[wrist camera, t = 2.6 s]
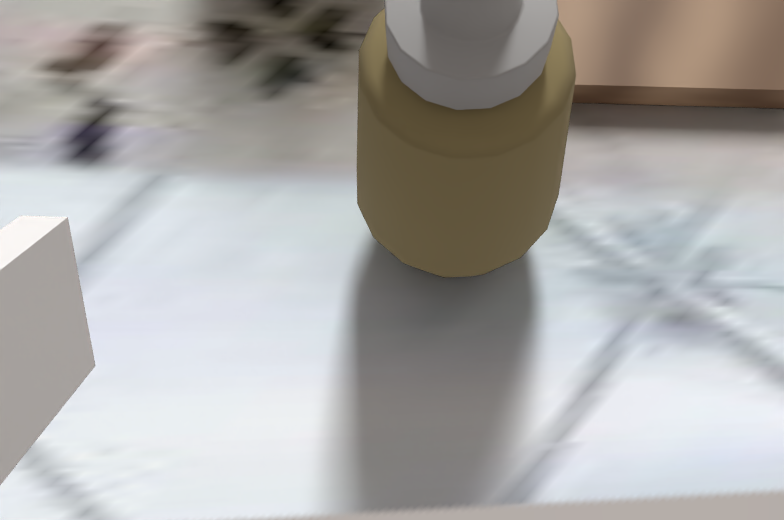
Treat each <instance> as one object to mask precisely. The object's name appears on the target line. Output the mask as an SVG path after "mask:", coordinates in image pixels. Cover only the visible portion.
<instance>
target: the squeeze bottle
mask: <svg viewBox="0 0 784 520" xmlns="http://www.w3.org/2000/svg"><path fill="white" fill-rule="evenodd" d="M384 2H385V8H384V9H383V10H382V11H381V12H379V13H378V14H377V15H376V16H375V17H374V19H373V21H372V23H371V25H370V27H369V30H368V32H367V34H366V36H365V38H364V41H363V43H362V45H361V47H360V49H359V75H358V129H357V204H358V206H359V208H360V210H361V212H362V214H363V217H364V219H365V221H366V223H367V225H368V227H369V229H370V231H371V233H372V235H373V237H374V238H375V239H376V240H377V241H378V242H379V243H381V244H382V245H383V246H384V247H385V248H386V249H388V250H389V251H390V252H391V253H392V254H393V255H394V256H396V257H397V258H398V259H399V260H400V261H401V262H403V263H404V264H407V265H410V266H412V267H415V268H418V269H420V270H423V271H426V272H429V273H432V274H435V275H438V276H441V277H444V278H447V277H469V276H477V275H483V274H486V273H488V272H490V271H492V270H494V269H497V268H499V267H501V266H503V265H506V264H508V263H510V262H512V261H514V260H517V259H519V258H521V257H522V256H523V255H524V254H525V253H526V251H527V250H528V249H529V248H530V247H531V246H532V245H533V244H534V243H535V242H536V241H537V240H538V238H539V237H540V236H541V235H542V234H543V233H544V232H545V231H546V230H547V228H548V225H549V222H550V219H551V216H552V213H553V210H554V207H555V204H556V201H557V198H558V195H559V188H560V182H561V175H562V168H563V161H564V154H565V147H566V141H567V134H568V127H569V120H570V113H571V107H572V100H573V93H574V86H575V79H576V70H575V63H574V56H573V48H572V41H571V38H570V36H569V35H568V33H567V32H566V30H565V28H564V27H563V25H562V24H561V22H560V21H559V19H558V17H559V13H558V5H557V0H384Z"/></svg>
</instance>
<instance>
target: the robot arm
mask: <svg viewBox="0 0 784 520" xmlns="http://www.w3.org/2000/svg"><path fill="white" fill-rule="evenodd" d="M94 367H95V361H94V356H93V350H92V345H91V340H90V334H89V329H88V324H87V318H86V313H85V307H84V302H83V297H82V291H81V286H80V281H79V275H78V270H77V265H76V259H75V254H74V248H73V243H72V238H71V232H70V227H69V222H68V217H48V216H19V217H18V218H16V219H15V220H14V221H12V222H11V223H9V224H8V225H6V226H5V227H4V228H2V229H1V230H0V485H1V484H2V482H3V481H4V480H5V479H6V477H7V476H8V475H9V474H10V472H11V471H12V470H13V469H14V467H15V466H16V465H17V464H18V462H19V461H20V460H21V459H22V457H23V456H24V455H25V453H26V452H27V451H28V450H29V448H30V447H31V446H32V445H33V443H34V442H35V441H36V440H37V438H38V437H39V436H40V435H41V433H42V432H43V431H44V430H45V428H46V427H47V426H48V425H49V423H50V422H51V421H52V420H53V418H54V417H55V416H56V415H57V413H58V412H59V411H60V410H61V408H62V407H63V406H64V404H65V403H66V402H67V401H68V399H69V398H70V397H71V396H72V394H73V393H74V392H75V391H76V389H77V388H78V387H79V386H80V384H81V383H82V382H83V381H84V379H85V378H86V377H87V376H88V374H89V373H90V372H91V371H92V369H93V368H94Z"/></svg>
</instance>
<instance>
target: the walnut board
mask: <svg viewBox="0 0 784 520" xmlns="http://www.w3.org/2000/svg"><path fill="white" fill-rule="evenodd" d="M557 5H558V13H559V17H558V19H559V21H560V22H561V24H562V25H563V27H564V28H565V30H566V32H567V33H568V35H569V36H570V38H571V41H572V48H573V56H574V63H575V70H576V79H575V86H574V93H573V100H572V103H606V104H642V105H678V106H714V107H749V108H784V0H557Z"/></svg>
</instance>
